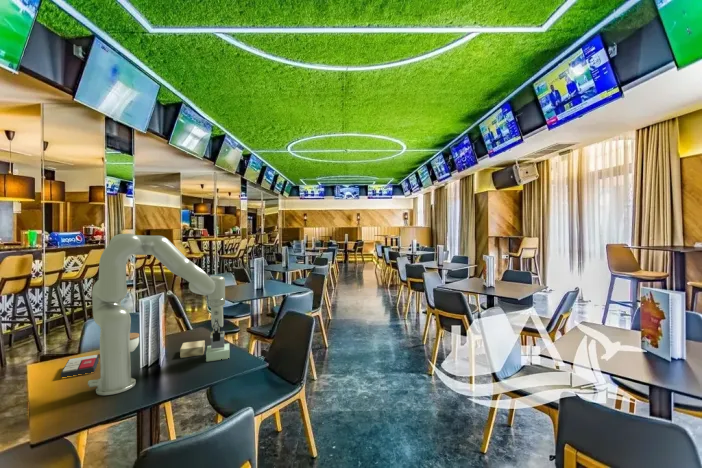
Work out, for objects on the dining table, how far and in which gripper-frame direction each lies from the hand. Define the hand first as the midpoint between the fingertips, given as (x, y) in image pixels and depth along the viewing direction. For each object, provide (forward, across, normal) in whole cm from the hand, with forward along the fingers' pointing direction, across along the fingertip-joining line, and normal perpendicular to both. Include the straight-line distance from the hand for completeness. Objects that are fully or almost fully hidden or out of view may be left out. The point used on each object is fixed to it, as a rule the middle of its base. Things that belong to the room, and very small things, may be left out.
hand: (216, 338), depth 160 cm
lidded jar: (+10, +26, +43) cm, 52 cm away
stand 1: (+9, +10, +11) cm, 18 cm away
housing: (+5, 0, 0) cm, 5 cm away
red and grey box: (+10, +7, +56) cm, 57 cm away
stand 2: (+9, 0, -1) cm, 9 cm away
